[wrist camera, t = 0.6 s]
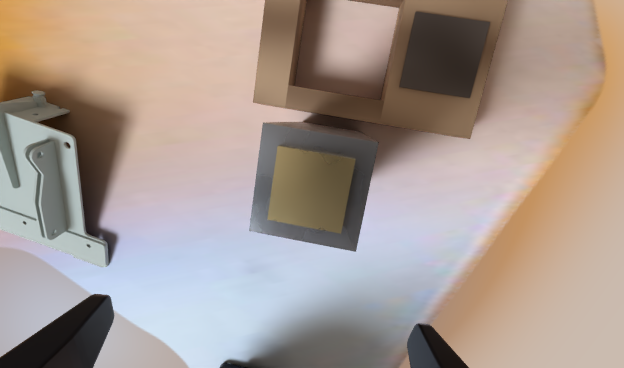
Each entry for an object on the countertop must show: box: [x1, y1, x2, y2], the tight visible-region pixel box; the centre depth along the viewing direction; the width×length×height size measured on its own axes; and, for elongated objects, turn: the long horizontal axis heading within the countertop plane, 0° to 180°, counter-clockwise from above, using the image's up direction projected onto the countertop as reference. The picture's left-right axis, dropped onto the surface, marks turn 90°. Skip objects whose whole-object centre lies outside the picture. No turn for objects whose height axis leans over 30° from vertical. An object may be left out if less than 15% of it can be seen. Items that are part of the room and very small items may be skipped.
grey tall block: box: [249, 122, 379, 252], centre depth 18 cm, size 4×4×12 cm
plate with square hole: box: [253, 0, 508, 139], centre depth 21 cm, size 10×15×3 cm, turn 81°
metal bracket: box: [0, 90, 109, 267], centre depth 26 cm, size 14×6×15 cm
